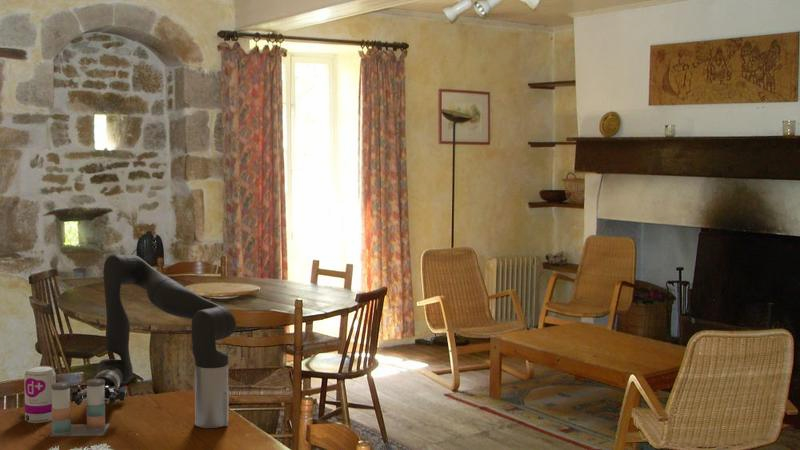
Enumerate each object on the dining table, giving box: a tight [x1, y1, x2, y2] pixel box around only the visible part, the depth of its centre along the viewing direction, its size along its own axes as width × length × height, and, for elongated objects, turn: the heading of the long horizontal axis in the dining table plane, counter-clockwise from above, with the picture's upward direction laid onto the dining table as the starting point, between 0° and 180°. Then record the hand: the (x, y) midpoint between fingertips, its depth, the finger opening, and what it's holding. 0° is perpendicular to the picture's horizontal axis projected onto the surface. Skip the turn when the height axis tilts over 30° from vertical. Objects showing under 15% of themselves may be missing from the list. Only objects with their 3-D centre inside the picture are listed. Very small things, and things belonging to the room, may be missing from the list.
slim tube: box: [85, 378, 106, 431], centre depth 252 cm, size 5×5×13 cm
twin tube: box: [51, 381, 72, 435], centre depth 247 cm, size 5×5×13 cm
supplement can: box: [23, 365, 56, 424], centre depth 259 cm, size 8×8×15 cm
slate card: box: [48, 423, 110, 438], centre depth 251 cm, size 14×10×1 cm
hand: (94, 401), depth 250 cm, fingers open, 8 cm apart
